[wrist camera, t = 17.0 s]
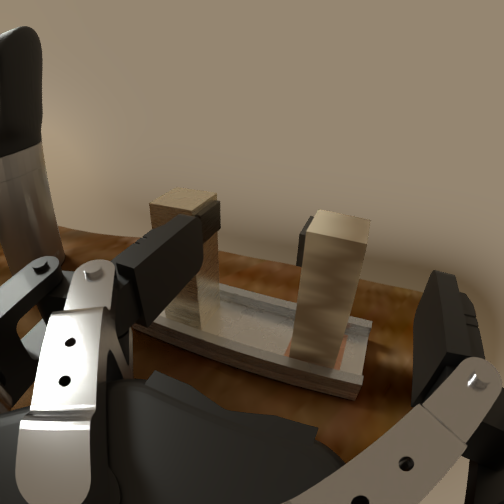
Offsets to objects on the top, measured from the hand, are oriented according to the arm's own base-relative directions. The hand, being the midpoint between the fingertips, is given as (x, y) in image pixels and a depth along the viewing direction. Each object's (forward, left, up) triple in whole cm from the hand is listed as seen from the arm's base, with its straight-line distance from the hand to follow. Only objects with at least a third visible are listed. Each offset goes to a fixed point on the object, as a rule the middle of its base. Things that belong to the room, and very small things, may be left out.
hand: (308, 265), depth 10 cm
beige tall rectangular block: (0, +12, -16) cm, 19 cm away
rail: (-6, +12, -17) cm, 21 cm away
